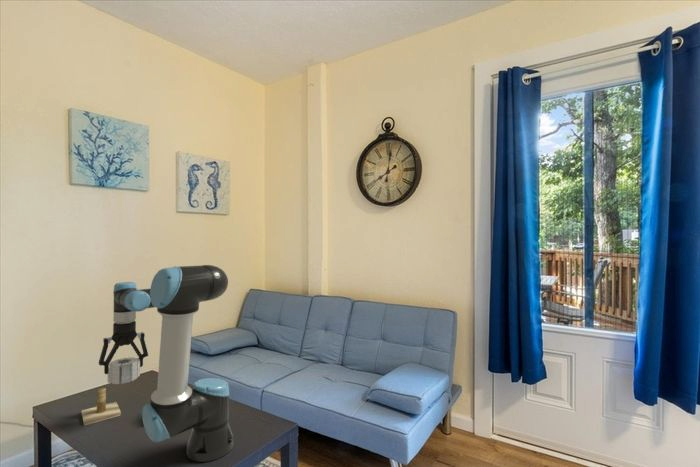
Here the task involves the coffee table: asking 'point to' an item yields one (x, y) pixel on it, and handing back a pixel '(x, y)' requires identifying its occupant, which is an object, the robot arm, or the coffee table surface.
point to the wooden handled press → (100, 409)
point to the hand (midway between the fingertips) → (123, 378)
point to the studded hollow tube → (124, 370)
